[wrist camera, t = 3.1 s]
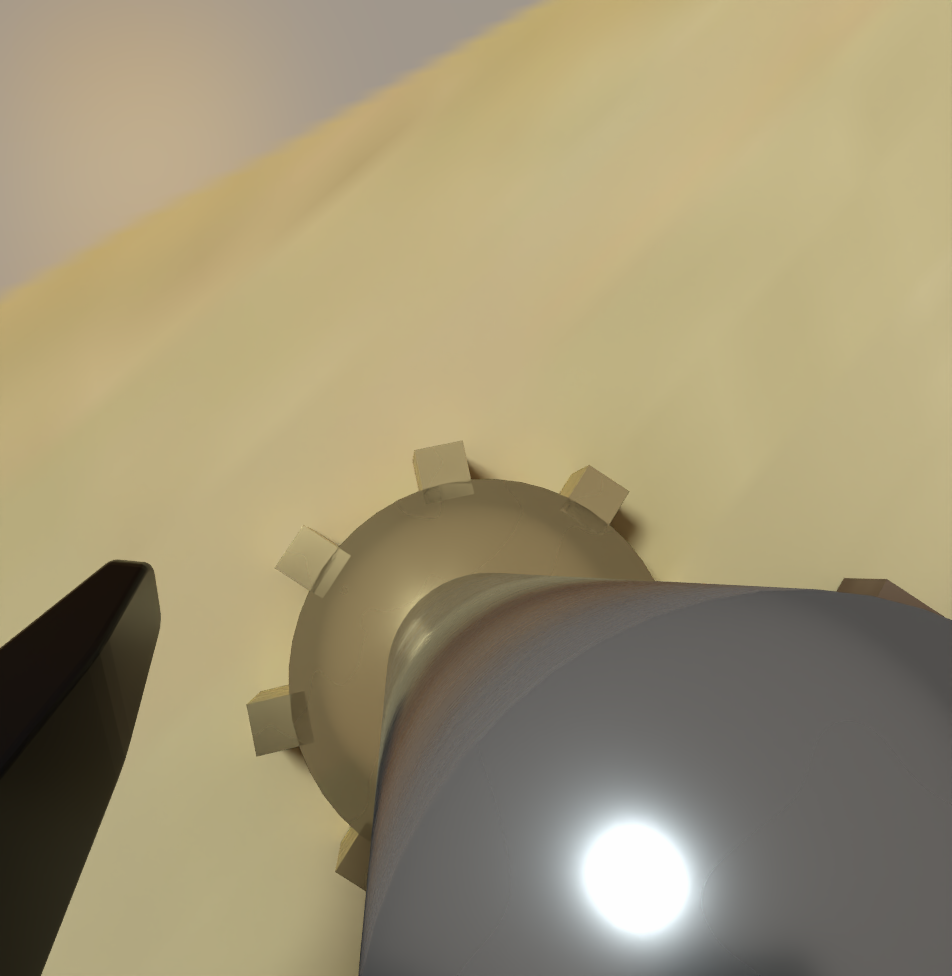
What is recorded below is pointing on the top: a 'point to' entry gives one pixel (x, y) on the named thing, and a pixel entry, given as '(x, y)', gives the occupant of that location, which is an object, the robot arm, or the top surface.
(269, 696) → the gear with grey post
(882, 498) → the top surface
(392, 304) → the top surface
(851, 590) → the gear board
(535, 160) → the top surface
